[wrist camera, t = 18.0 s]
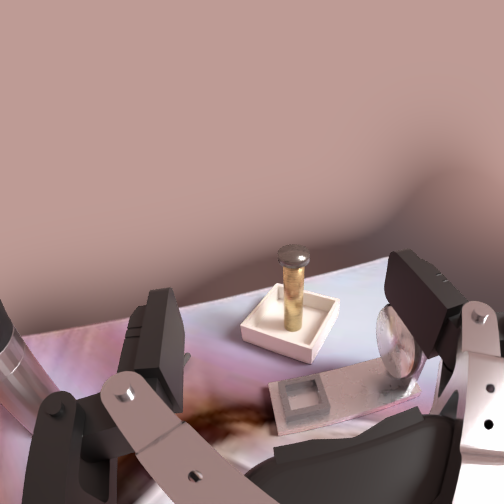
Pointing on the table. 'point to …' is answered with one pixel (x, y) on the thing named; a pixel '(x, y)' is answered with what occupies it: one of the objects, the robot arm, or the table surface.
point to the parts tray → (285, 342)
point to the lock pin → (293, 283)
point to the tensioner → (352, 383)
